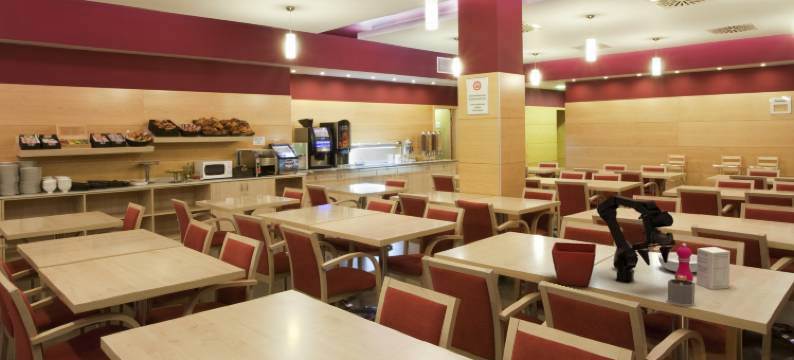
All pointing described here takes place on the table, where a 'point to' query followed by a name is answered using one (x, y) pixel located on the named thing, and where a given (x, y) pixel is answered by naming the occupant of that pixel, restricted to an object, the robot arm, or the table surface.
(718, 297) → the table surface
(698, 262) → the supplement box
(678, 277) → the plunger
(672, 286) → the grey rounded cube
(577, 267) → the plant pot
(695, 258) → the serving bowl
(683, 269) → the pepper mill
